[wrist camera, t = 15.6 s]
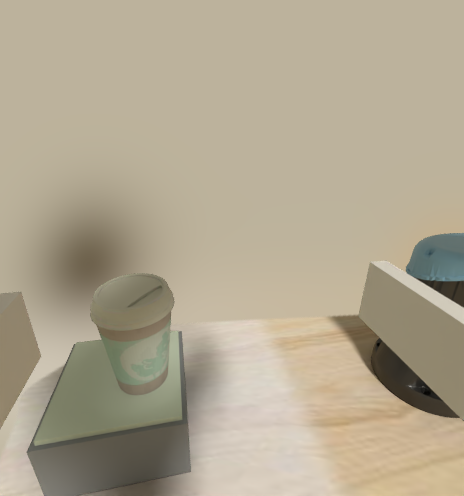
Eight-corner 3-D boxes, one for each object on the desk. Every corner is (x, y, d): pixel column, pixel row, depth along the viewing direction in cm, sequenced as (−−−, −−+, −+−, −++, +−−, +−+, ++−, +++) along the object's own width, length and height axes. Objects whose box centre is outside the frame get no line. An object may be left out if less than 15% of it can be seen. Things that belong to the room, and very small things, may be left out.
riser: (184, 371, 47) (181, 328, 43) (190, 471, 33) (187, 419, 30) (84, 386, 44) (73, 340, 40) (46, 501, 30) (25, 448, 27)
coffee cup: (112, 420, 30) (92, 324, 25) (100, 365, 36) (83, 281, 32) (190, 386, 34) (185, 298, 29) (166, 342, 40) (159, 265, 36)
